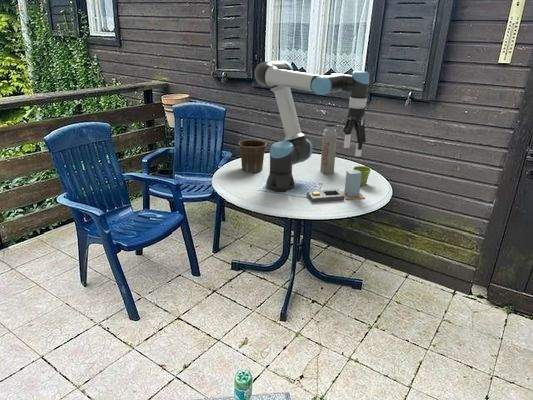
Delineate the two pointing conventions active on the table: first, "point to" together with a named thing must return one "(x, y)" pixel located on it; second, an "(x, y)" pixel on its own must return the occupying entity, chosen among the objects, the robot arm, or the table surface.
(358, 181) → the light blue tall block
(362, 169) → the plant pot
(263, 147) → the plant pot
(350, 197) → the walnut board
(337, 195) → the dark grey holder
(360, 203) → the table surface
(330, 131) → the thermos bottle
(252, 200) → the table surface
